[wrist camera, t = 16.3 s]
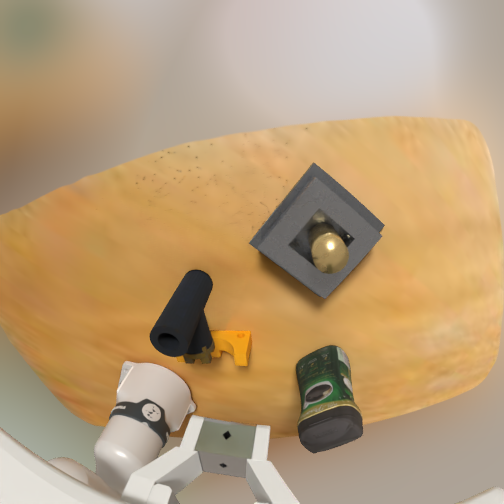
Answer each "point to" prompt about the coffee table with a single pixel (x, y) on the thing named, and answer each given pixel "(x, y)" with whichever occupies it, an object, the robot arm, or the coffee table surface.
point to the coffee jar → (327, 400)
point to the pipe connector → (186, 321)
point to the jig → (309, 215)
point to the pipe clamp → (231, 345)
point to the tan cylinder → (327, 249)
